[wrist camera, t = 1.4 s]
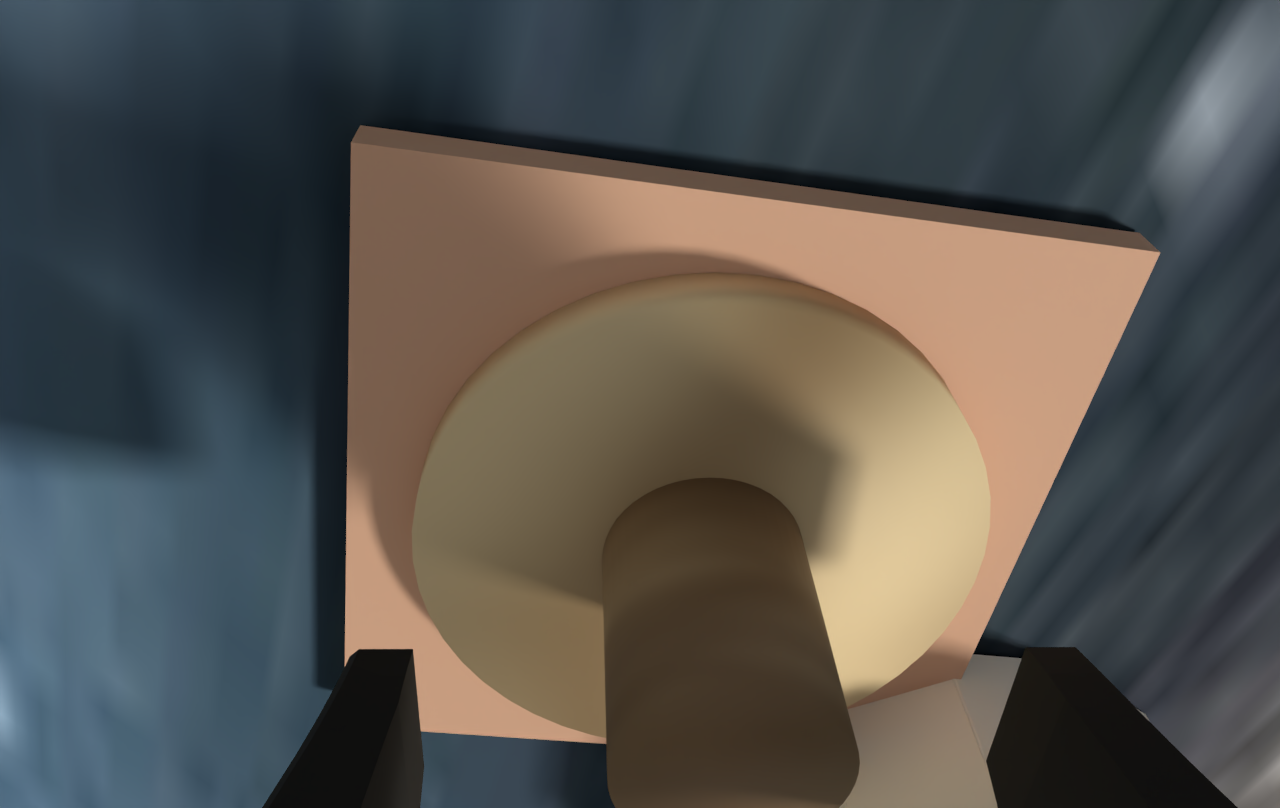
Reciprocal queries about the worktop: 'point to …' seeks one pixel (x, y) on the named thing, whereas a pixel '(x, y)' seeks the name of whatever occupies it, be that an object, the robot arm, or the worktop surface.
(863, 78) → the worktop surface
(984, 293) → the mat
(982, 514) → the bamboo lid
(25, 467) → the worktop surface
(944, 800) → the bowl
